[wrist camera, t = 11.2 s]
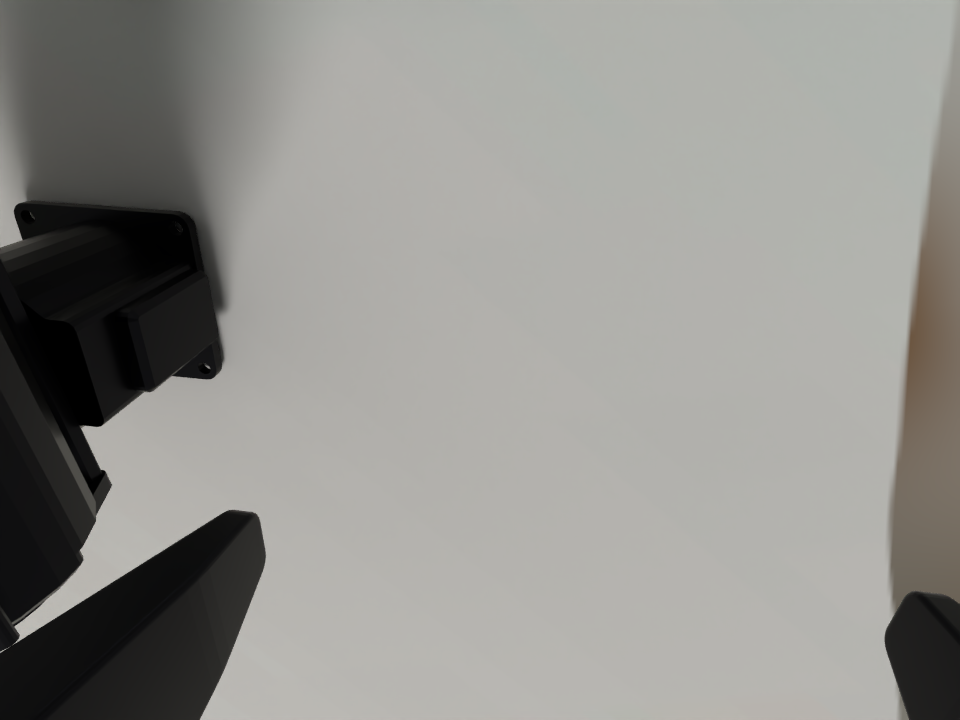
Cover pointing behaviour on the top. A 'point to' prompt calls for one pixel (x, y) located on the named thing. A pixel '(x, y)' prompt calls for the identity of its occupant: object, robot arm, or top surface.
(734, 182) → the top surface
